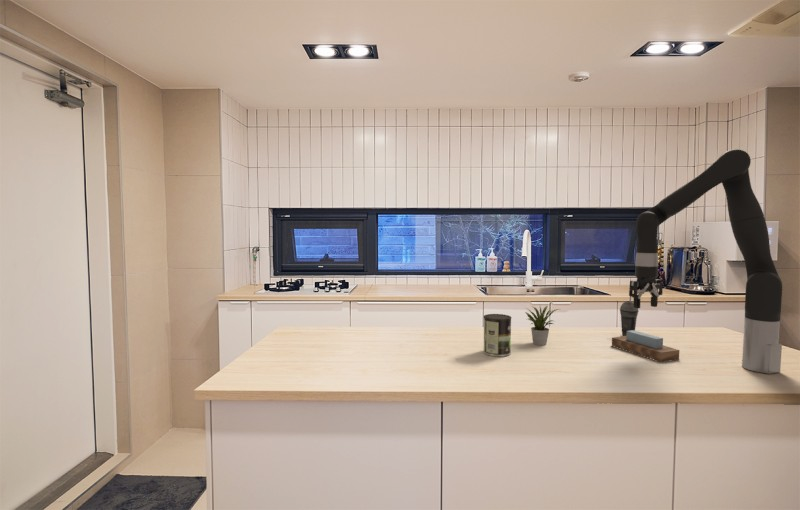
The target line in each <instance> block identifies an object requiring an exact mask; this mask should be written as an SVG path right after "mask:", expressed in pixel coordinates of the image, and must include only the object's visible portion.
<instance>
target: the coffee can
mask: <svg viewBox="0 0 800 510" xmlns="http://www.w3.org/2000/svg"><path fill="white" fill-rule="evenodd" d="M511 334H512V316H511V315H508V314H503V313H489V314H484V315H483V351H482V352H483V354H484V355H487V356H491V357H498V358H499V357H508V356H510V355H511V353H512V352H511V351H512V350H511V349H512V348H511V347H512V346H511V343H512V342H511V338H512V335H511Z"/></svg>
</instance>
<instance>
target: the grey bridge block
mask: <svg viewBox="0 0 800 510" xmlns="http://www.w3.org/2000/svg"><path fill="white" fill-rule="evenodd" d="M626 340H629V341H632V342H636V343H639V344H642V345H646V346H649V347H652V348H663V345H664V338H663V337H660V336H655V335H653V334H649V333H644V332H641V331H639V330H635V331H634V330H631V331H627V336H626Z"/></svg>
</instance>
